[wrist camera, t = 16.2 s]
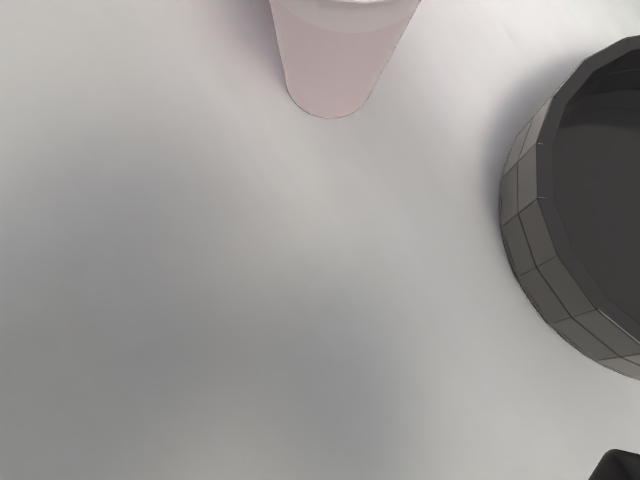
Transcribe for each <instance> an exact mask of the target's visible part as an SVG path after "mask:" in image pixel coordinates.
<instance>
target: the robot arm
mask: <svg viewBox="0 0 640 480" xmlns="http://www.w3.org/2000/svg"><path fill="white" fill-rule="evenodd" d="M588 480H640V455H639V454H635V453H631V452H627V451H622V450H618V449H612V450H609V451H608V452H606V453H605V454H604V456H603V457H602V459H601V460H600V462H599V464H598V465H597V467H596V468H595V470H594V471H593V473H592V475H591V476H590V478H589V479H588Z"/></svg>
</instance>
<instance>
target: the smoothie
mask: <svg viewBox="0 0 640 480" xmlns="http://www.w3.org/2000/svg"><path fill="white" fill-rule="evenodd" d="M420 1H421V0H270V5H271V10H272V15H273V20H274V25H275V30H276V35H277V40H278V45H279V50H280V55H281V60H282V65H283V70H284V75H285V80H286V85H287V89H288V91H289V94H290V96H291V97H292V99H293V100H294V102H295V103H296V104H297V105H298V106H299V107H301V108H302V109H303V110H305V111H306V112H308V113H310V114H312V115H315V116H318V117H323V118H339V117H343V116H346V115H349V114H351V113H353V112H355V111H356V110H358V109H359V108H360V107H361V106H362V105H363V104H364V103H365V101H366V100H367V98H368V96H369V95H370V93H371V91H372V89H373V87H374V85H375V84H376V82H377V80H378V78H379V76H380V74H381V73H382V71H383V69H384V67H385V65H386V63H387V62H388V60H389V58H390V56H391V54H392V52H393V51H394V49H395V47H396V45H397V43H398V41H399V40H400V38H401V36H402V34H403V32H404V30H405V29H406V27H407V25H408V23H409V21H410V19H411V18H412V16H413V14H414V12H415V10H416V8H417V7H418V5H419V3H420Z"/></svg>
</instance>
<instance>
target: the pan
mask: <svg viewBox="0 0 640 480" xmlns="http://www.w3.org/2000/svg"><path fill="white" fill-rule="evenodd" d="M499 213H500V226H501V231H502V236H503V241H504V246H505V249H506V252H507V254H508V257H509V260H510V263H511V266H512V268H513V270H514V272H515V274H516V277H517V279H518V281H519V283H520V285H521V287H522V288H523V290H524V291H525V293H526V295H527V296H528V298H529V299H530V301H531V302H532V304H533V305H534V307H535V308H536V309H537V310H538V312H539V313H540V314H541V315H542V316H543V318H544V319H545V320H546V321H547V323H548V324H549V325H550V326H551V327H552V328H553V329H554V330H555V331H556V332H558V333H559V334H560V335H561V336H562V337H563V338H564V339H565V340H566V341H567V342H569V343H570V344H571V345H572V346H574V347H575V348H576V349H578V350H579V351H580V352H582V353H583V354H584V355H586V356H588V357H589V358H591V359H593V360H594V361H596V362H598V363H599V364H601V365H603V366H604V367H607V368H609V369H611V370H613V371H616V372H618V373H620V374H622V375H625V376H627V377H631V378H634V379H637V380H640V35H638V36H632V37H626V38H623V39H621V40H619V41H617V42H616V43H614V44H612V45H610V46H608V47H606V48H604V49H603V50H601V51H599V52H597V53H595V54H593V55H591V56H590V57H588V58H586V59H584V60H583V61H582V62H580V64H579V65H578V66H577V67H576V68H575V69H574V70H573V72H572V73H571V74H570V75H569V76H568V77H567V79H566V80H565V81H564V82H563V83H562V84H561V85H560V87H559V88H558V89H557V90H556V91H555V92H554V93H553V95H552V96H551V97H550V98H549V99H548V100H547V101H546V103H545V104H544V105H543V106H542V107H541V108H540V110H539V111H538V112H537V113H536V114H535V115H534V117H533V118H532V119H531V120H530V121H529V122H528V124H527V125H526V126H525V127H524V128H523V129H522V131H521V132H520V133H519V134H518V136H517V137H516V140H515V143H514V145H513V147H512V148H511V150H510V153H509V155H508V158H507V161H506V163H505V166H504V170H503V175H502V179H501V184H500V196H499Z"/></svg>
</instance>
